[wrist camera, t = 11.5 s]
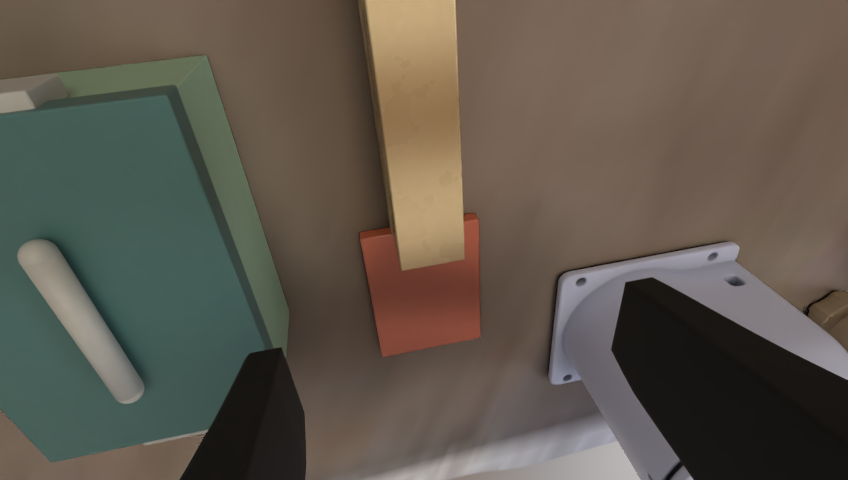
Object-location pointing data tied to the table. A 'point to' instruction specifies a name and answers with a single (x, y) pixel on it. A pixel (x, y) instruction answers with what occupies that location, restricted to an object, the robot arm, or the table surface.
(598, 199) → the table surface
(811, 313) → the handle
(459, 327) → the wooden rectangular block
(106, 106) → the tiffin box
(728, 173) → the table surface
